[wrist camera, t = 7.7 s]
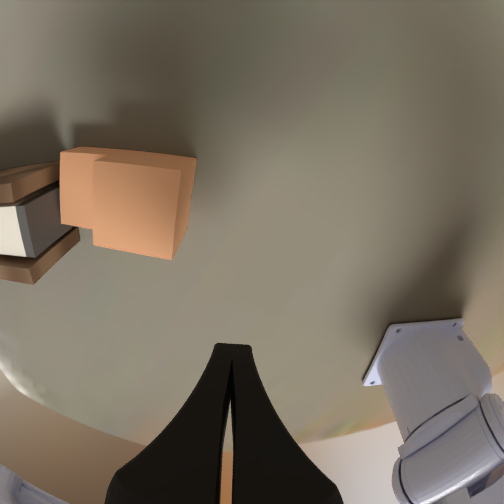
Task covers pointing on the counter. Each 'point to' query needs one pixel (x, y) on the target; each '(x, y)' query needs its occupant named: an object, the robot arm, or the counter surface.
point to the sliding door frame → (14, 188)
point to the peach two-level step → (127, 198)
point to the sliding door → (31, 222)
